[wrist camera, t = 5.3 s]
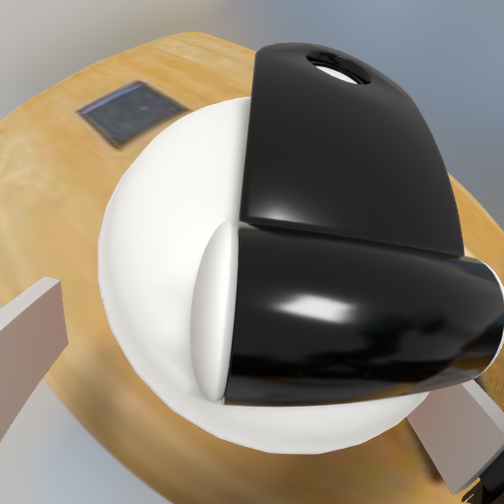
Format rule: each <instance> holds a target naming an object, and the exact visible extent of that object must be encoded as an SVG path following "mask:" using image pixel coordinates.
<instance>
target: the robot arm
mask: <svg viewBox="0 0 504 504" xmlns="http://www.w3.org/2000/svg"><path fill="white" fill-rule="evenodd" d="M67 345H68V338H67V332H66V325H65V318H64V310H63V301H62V290H61V280H57V279H53V278H49V277H43V278H42V279H41V280H39V281H38V282H36V283H35V284H34V285H32V286H31V287H30V288H28V289H27V290H25V291H24V292H23V293H21V294H20V295H19V296H17V297H16V298H15V299H13V300H12V301H11V302H10V303H8V304H7V305H6V306H4V307H3V308H2V309H1V310H0V442H1V440H2V438H3V437H4V435H5V433H6V432H7V430H8V429H9V427H10V425H11V424H12V422H13V421H14V419H15V417H16V416H17V414H18V413H19V411H20V410H21V408H22V407H23V405H24V404H25V403H26V401H27V399H28V398H29V397H30V395H31V394H32V392H33V391H34V389H35V388H36V387H37V385H38V384H39V382H40V381H41V380H42V378H43V377H44V375H45V374H46V373H47V371H48V370H49V369H50V367H51V366H52V365H53V363H54V362H55V360H56V359H57V358H58V357H59V355H60V354H61V353H62V351H63V350H64V349H65V347H66V346H67ZM406 418H407V420H408V421H409V423H410V424H411V426H412V428H413V429H414V431H415V432H416V434H417V436H418V437H419V439H420V441H421V442H422V444H423V446H424V447H425V449H426V451H427V452H428V454H429V456H430V457H431V459H432V461H433V462H434V464H435V466H436V467H437V469H438V471H439V473H440V474H441V476H442V478H443V480H444V481H445V483H446V485H447V487H448V488H449V490H450V492H451V494H452V495H454V494H456V493H458V492H460V491H462V490H464V489H466V488H467V487H468V486H469V485H470V484H472V483H473V482H474V481H475V480H476V479H477V478H478V477H479V478H480V481H479V482H478V483H477V484H476V485H475V486H474V487H473V488H472V489H471V490H470V491H469V492H467V493H466V494H465V495H464V496H463V498H462V501H461V502H464V501H465V500H466V499H468V498H469V497H470V496H471V495H472V494H474V495H473V496H472V497H471V498H470V499H469V500H468V501H467V503H471V504H504V412H503V411H502V410H501V409H500V408H499V407H498V406H497V405H496V404H495V402H494V401H493V400H492V399H491V398H490V397H489V396H488V395H487V394H486V393H485V391H484V390H483V389H482V388H481V387H480V386H479V385H478V384H477V383H476V382H475V381H474V380H470V381H468V382H465V383H462V384H458V385H455V386H451V387H447V388H442V389H438V390H434V391H430V393H429V394H428V395H427V397H426V398H425V400H424V401H423V402H422V403H421V404H419V405H418V406H417V407H416V408H415V409H414V410H413V411H412V412H411V413H410V414H409V415H408V416H406Z"/></svg>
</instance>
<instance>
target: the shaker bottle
mask: <svg viewBox="0 0 504 504" xmlns="http://www.w3.org/2000/svg"><path fill="white" fill-rule="evenodd" d="M98 285H99V289H100V293H101V297H102V301H103V305H104V308H105V312H106V316H107V319H108V322H109V326H110V329H111V331H112V333H113V334H114V336H115V338H116V340H117V342H118V344H119V345H120V347H121V349H122V351H123V352H124V354H125V356H126V358H127V359H128V361H129V363H130V364H131V366H132V368H133V369H134V371H135V372H136V373H137V375H138V376H139V377H140V378H141V379H142V380H143V381H144V382H145V383H146V384H147V385H148V386H149V387H150V388H151V389H152V391H153V392H154V393H155V394H156V395H157V396H158V397H159V398H160V399H161V400H162V401H163V402H164V403H165V404H166V405H167V406H168V407H170V408H171V409H172V410H173V411H174V412H176V413H177V414H179V415H181V416H182V417H184V418H185V419H187V420H188V421H190V422H192V423H193V424H195V425H197V426H198V427H200V428H202V429H203V430H205V431H207V432H209V433H210V434H212V435H214V436H216V437H217V438H220V439H223V440H226V441H229V442H232V443H235V444H238V445H242V446H245V447H249V448H252V449H256V450H260V451H263V452H267V453H279V454H321V453H326V452H330V451H335V450H339V449H343V448H347V447H351V446H355V445H359V444H362V443H364V442H366V441H368V440H370V439H372V438H374V437H376V436H378V435H379V434H381V433H383V432H385V431H387V430H389V429H390V428H392V427H394V426H396V425H397V424H398V423H400V422H401V421H402V420H403V419H404V418H405V417H406V416H408V415H409V414H410V413H411V412H412V411H413V410H414V409H415V408H416V407H417V406H418V405H419V404H421V403H422V402H423V401H424V400H425V398H426V397H427V395H428V394H429V393H430V391H434V390H438V389H442V388H447V387H451V386H455V385H458V384H462V383H465V382H468V381H470V380H473V379H474V378H477V377H478V376H479V375H481V374H482V373H484V372H485V371H486V370H487V369H488V368H489V367H490V365H491V364H492V363H493V362H494V361H495V359H496V357H497V356H498V354H499V352H500V350H501V348H502V345H503V342H504V287H503V285H502V283H501V281H500V279H499V278H498V276H497V274H496V273H495V272H494V271H493V270H492V269H491V267H490V266H488V265H487V264H485V263H484V262H482V261H480V260H478V259H475V258H471V257H467V256H465V252H464V245H463V238H462V232H461V225H460V220H459V214H458V209H457V205H456V201H455V197H454V193H453V190H452V186H451V183H450V180H449V176H448V173H447V170H446V167H445V164H444V161H443V159H442V156H441V154H440V152H439V149H438V147H437V145H436V142H435V140H434V138H433V135H432V133H431V131H430V129H429V127H428V125H427V123H426V121H425V120H424V118H423V116H422V114H421V113H420V111H419V109H418V107H417V106H416V104H415V103H414V101H413V100H412V98H411V97H410V96H409V95H408V94H407V93H406V92H405V91H404V90H403V89H402V88H401V87H400V86H398V84H396V83H395V82H394V81H392V80H391V79H390V78H388V77H387V76H386V75H384V74H382V73H381V72H379V71H378V70H376V69H375V68H373V67H371V66H370V65H368V64H366V63H364V62H363V61H361V60H359V59H357V58H355V57H352V56H350V55H348V54H346V53H343V52H341V51H338V50H335V49H331V48H328V47H325V46H321V45H315V44H308V43H276V44H273V45H269V46H265V47H262V48H261V49H260V50H259V51H258V52H257V53H256V54H255V60H254V71H253V81H252V91H251V97H243V98H236V99H232V100H228V101H224V102H220V103H217V104H213V105H210V106H206V107H203V108H201V109H199V110H197V111H195V112H192V113H190V114H188V115H186V116H184V117H182V118H180V119H178V120H177V121H176V122H174V123H173V124H172V125H170V126H169V127H167V128H166V129H165V130H163V131H162V132H161V133H159V134H158V135H157V136H156V137H155V138H154V139H153V140H152V141H151V142H150V143H149V145H148V146H147V147H146V148H145V149H144V150H143V151H142V153H141V154H140V155H139V156H138V157H137V158H136V160H135V161H134V162H133V163H132V164H131V166H130V167H129V168H128V170H127V171H126V172H125V173H124V175H123V176H122V177H121V179H120V181H119V183H118V185H117V187H116V189H115V191H114V193H113V195H112V197H111V199H110V201H109V203H108V205H107V207H106V210H105V214H104V218H103V222H102V226H101V231H100V235H99V240H98Z"/></svg>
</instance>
